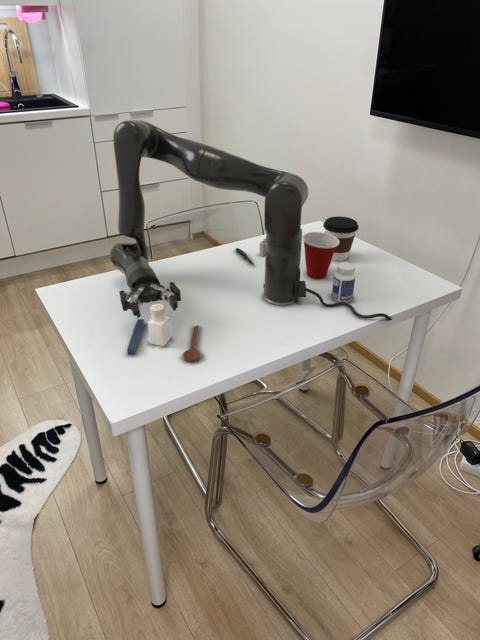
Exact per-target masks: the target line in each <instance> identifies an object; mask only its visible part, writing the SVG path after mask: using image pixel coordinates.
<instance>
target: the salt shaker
mask: <svg viewBox="0 0 480 640" xmlns="http://www.w3.org/2000/svg"><path fill="white" fill-rule="evenodd" d="M149 311H150V316H151V317H150V318H149V319H148V321H147V329H148V330H147V331H148V338H149V340H148V341H149V343H150V344H151V345H156V346H161V347H164V346H165V345H166V344H167V343H168V342H169V341H170V340H171V337H172V336H171V325H170V318H169V316H166V315H165V314H166V312H165V311H166V310H165V305H163V304H162V303H154V304H152V305H151V306H150V307H149Z"/></svg>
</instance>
